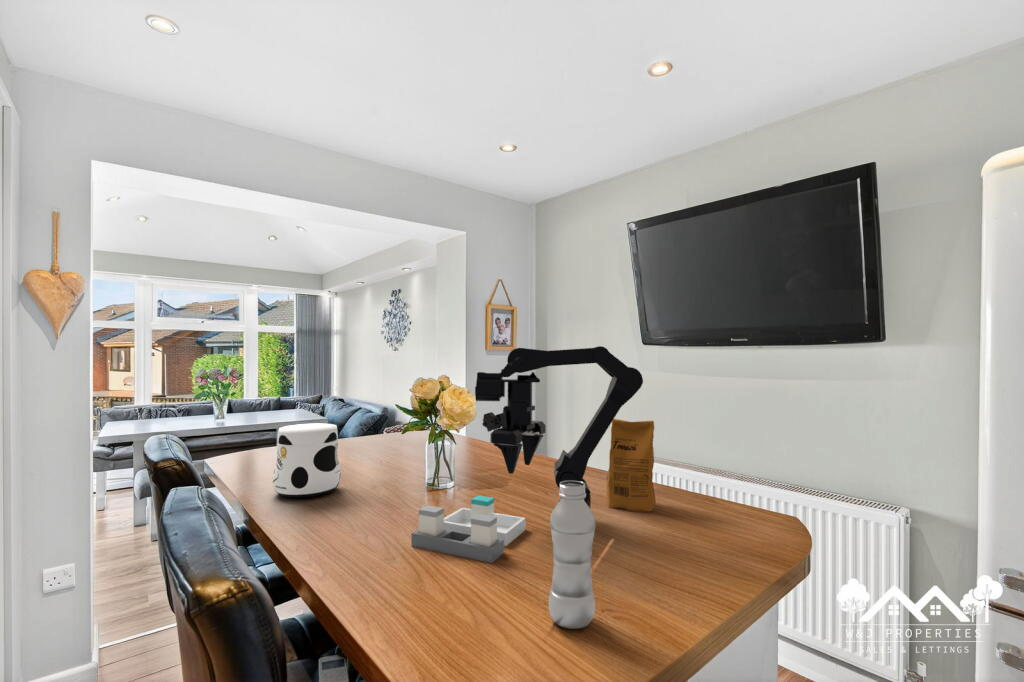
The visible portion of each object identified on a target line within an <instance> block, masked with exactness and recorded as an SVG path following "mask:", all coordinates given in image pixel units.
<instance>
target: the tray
mask: <svg viewBox="0 0 1024 682" xmlns="http://www.w3.org/2000/svg"><path fill="white" fill-rule="evenodd" d="M494 516H495V517H497V538H498V539H503V540H504V547H507V546H509V545H510V543H512V542H513V541H514V540H515V539H516V538H518V537H519V536H520V535H521V534H523V533H524V532H525V531H526V527H527V525H526V523H527V517H523V516H516V515H511V514H503V513H497V512H494ZM444 528H445V529H450V530H455V531H461V532H466V533H471V508H468V507H467V508H466V507H461V508H459V509H456V511H454V512H452V513H450V514H448V515H447V516H444Z"/></svg>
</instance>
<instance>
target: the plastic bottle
mask: <svg viewBox="0 0 1024 682" xmlns="http://www.w3.org/2000/svg"><path fill="white" fill-rule="evenodd" d="M558 497H560V500H559V501H560V502H559V501H558V503H557V504H556V505H555V507H554V508H553V510H552V512H551V515H550V519H549V523H550V525H549V526H550V533H551V540H552V556H553V558H552V559H553V566H552V567H553V570H552V581H551V587H550V591H549V597H548V610H549V616H550V617H551V619H552V620H553V622H554V623H555V624H556V625H558V626H559V627H561V628H565V629H569V630H578V629H584V628H586V627H587V626H589V624H590V623H591V622H592V620H593V619H594V616H595V611H596V610H595V609H596V602H595V594H594V591H593V582H592V581H593V580H592V556H593V555H592V553H593V545H594V544H593V543H594V537H595V529H596V518H595V515H594V513H593V511H592V509H591V507H590V508H589V506H588V505H587V504H586V502H585V501H584V498H586V493H585V483H583V482H580V481H562V482H560V489H559V491H558Z"/></svg>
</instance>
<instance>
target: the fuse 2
mask: <svg viewBox="0 0 1024 682" xmlns="http://www.w3.org/2000/svg"><path fill="white" fill-rule="evenodd" d="M496 542H497V517H495V516H489V515H483V514H478V515H476V516H474V517H473V518H471V543H472V544H477V545H482V546H487V547H491V546H492V545H494V544H495V543H496Z"/></svg>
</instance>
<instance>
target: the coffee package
mask: <svg viewBox="0 0 1024 682" xmlns="http://www.w3.org/2000/svg"><path fill="white" fill-rule="evenodd" d="M654 421H655V420H641V421H640V420H639V421H628V420H622V419H618V418H614V419H613V421H612V422H611V427H610V449H609V455H608V456H609V462H608V463H609V464H608V472H607V474H606V504H607V507H608V508H610V507H611V509H612V508H615V509H618V508H619V509H625V510H627V511H629V512H652V511H653V510H654V507H655V506H656V504H657V501H656V500H657V499H656V493H655V487H654V482H653V478H654V473H653V470H654V464H655V457H654V455H655V454H654V453H655V452H654V446H653V445H654V432H655V422H654Z"/></svg>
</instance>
